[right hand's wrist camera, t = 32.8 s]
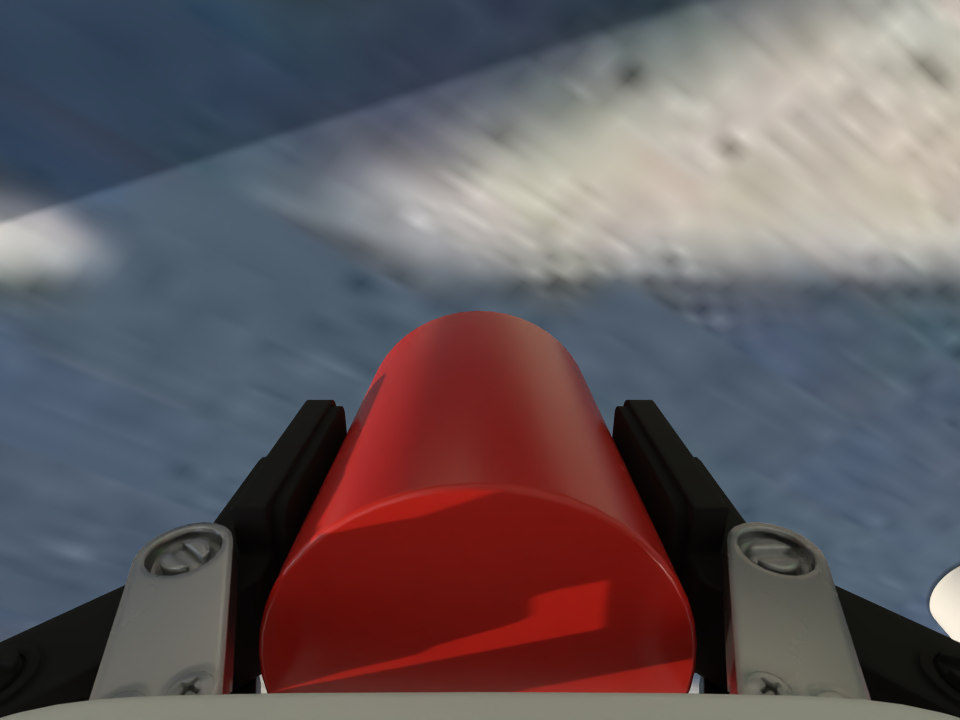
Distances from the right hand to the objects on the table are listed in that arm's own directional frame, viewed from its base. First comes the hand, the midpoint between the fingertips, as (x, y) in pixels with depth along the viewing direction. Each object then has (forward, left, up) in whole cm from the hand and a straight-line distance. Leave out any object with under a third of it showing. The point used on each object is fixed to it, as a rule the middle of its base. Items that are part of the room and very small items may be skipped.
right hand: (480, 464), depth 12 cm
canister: (0, 0, -3) cm, 3 cm away
